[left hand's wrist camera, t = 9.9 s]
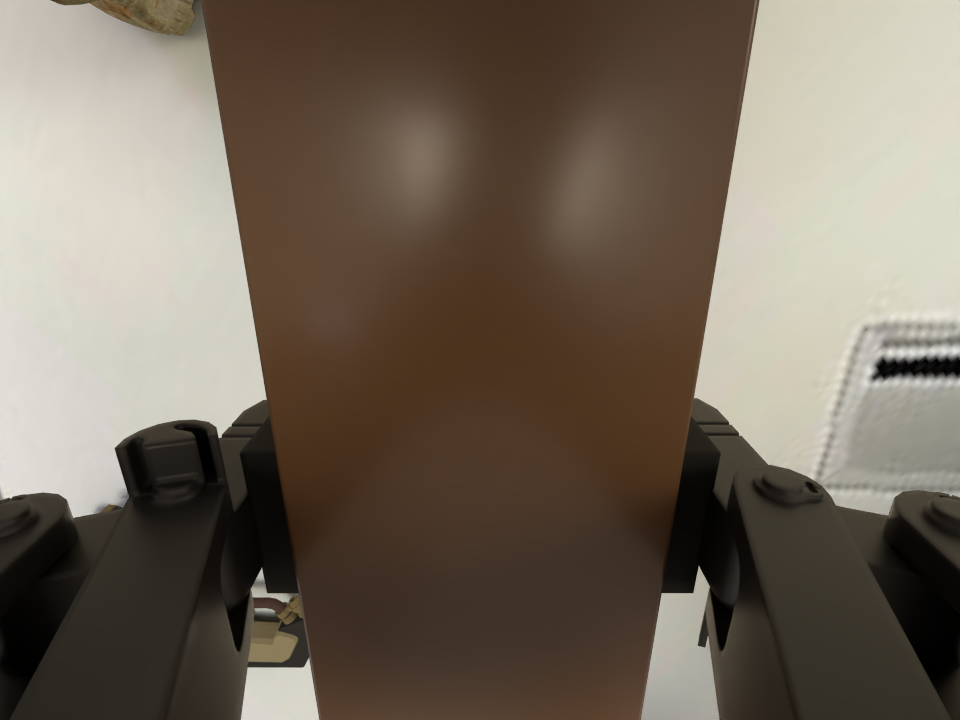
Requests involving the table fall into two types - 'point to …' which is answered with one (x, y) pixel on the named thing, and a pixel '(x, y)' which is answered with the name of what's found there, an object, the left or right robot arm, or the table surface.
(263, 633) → the spray gun
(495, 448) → the beam
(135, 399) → the table surface
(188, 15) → the sculpture
